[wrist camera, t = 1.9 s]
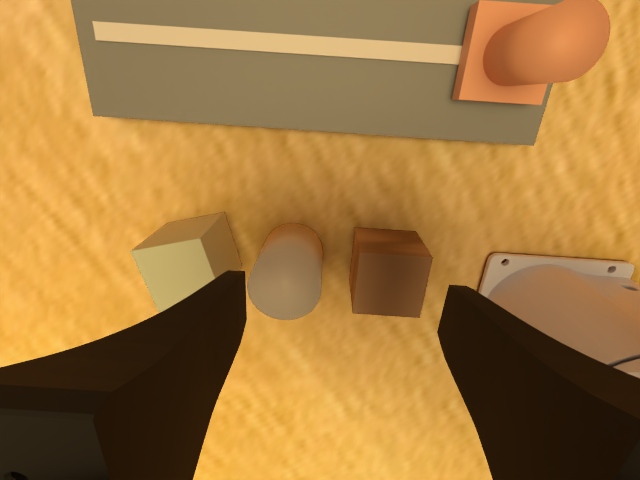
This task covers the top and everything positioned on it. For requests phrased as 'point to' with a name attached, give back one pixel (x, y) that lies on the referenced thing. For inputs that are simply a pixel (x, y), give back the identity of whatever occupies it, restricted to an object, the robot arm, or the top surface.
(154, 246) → the sage block
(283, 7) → the slate board
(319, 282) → the grey cylinder
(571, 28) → the counter slider
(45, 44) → the top surface
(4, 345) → the top surface
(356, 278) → the walnut block
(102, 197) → the top surface
